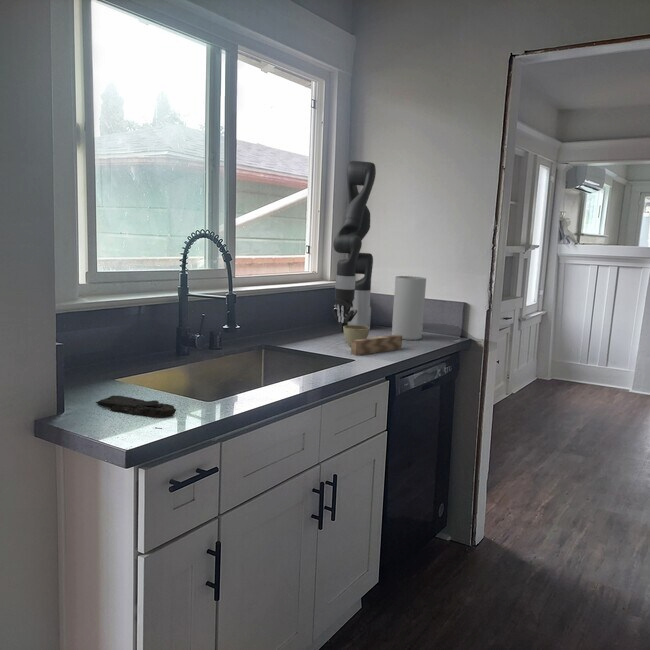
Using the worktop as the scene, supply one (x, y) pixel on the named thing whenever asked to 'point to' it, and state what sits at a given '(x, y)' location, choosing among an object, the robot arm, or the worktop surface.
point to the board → (376, 344)
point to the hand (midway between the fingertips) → (342, 331)
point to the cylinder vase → (408, 307)
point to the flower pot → (355, 333)
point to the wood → (138, 406)
